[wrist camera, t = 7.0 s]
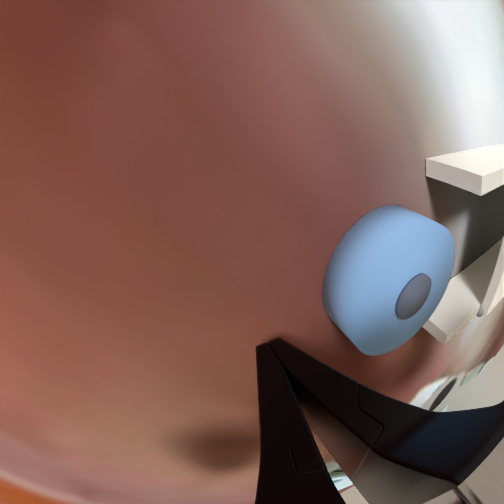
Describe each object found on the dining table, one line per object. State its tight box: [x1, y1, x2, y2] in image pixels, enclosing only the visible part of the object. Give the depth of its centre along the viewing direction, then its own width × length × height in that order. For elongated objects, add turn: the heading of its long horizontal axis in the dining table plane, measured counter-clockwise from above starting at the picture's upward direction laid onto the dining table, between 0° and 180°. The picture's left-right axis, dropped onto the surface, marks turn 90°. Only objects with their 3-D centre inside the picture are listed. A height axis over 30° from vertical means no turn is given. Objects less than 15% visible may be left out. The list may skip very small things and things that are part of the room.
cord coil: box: [322, 205, 455, 356], centre depth 11 cm, size 6×6×3 cm
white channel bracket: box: [422, 144, 504, 345], centre depth 12 cm, size 15×9×3 cm, turn 102°
